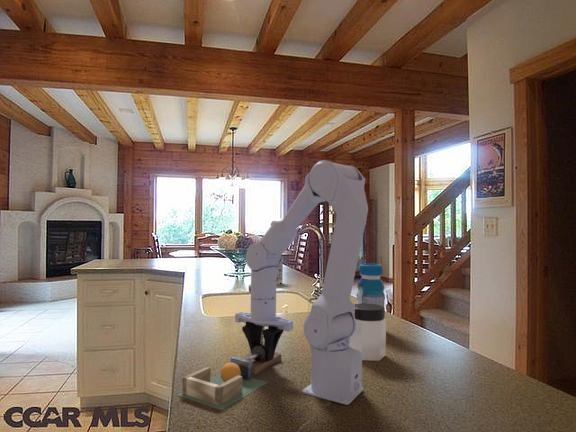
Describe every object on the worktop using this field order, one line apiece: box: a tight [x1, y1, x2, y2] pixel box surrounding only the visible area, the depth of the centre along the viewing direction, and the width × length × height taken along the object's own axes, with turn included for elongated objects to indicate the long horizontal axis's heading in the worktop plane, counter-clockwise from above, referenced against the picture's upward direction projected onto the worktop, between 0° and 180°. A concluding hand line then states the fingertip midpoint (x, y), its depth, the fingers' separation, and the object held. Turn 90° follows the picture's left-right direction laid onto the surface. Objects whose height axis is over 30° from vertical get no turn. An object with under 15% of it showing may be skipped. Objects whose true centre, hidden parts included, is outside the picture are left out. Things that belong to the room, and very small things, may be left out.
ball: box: [219, 362, 241, 382], centre depth 79 cm, size 4×4×4 cm
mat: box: [176, 373, 268, 411], centre depth 76 cm, size 11×14×1 cm
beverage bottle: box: [356, 263, 386, 308], centre depth 120 cm, size 8×8×20 cm
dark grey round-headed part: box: [230, 341, 265, 379], centre depth 86 cm, size 11×5×5 cm, turn 149°
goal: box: [181, 366, 242, 405], centre depth 74 cm, size 9×6×3 cm
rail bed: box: [251, 352, 282, 375], centre depth 89 cm, size 3×10×2 cm, turn 149°
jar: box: [349, 303, 387, 362], centre depth 97 cm, size 9×8×12 cm
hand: (262, 358), depth 88 cm, fingers closed on dark grey round-headed part, 3 cm apart
